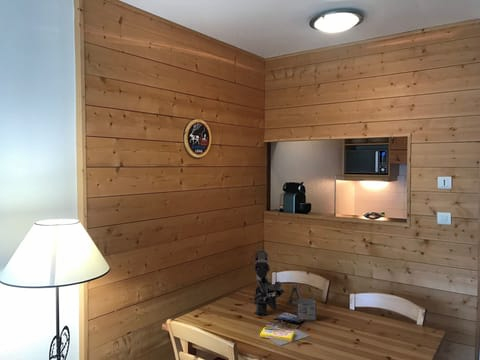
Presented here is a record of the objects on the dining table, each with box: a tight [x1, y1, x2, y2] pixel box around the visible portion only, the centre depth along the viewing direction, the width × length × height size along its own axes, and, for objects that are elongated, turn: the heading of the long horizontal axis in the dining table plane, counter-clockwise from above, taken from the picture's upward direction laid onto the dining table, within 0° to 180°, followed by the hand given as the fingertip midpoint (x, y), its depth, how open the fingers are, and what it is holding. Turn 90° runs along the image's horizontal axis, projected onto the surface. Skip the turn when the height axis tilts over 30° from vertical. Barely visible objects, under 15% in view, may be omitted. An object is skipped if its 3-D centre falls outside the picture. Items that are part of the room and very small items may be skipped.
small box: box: [296, 298, 317, 322], centre depth 217 cm, size 11×6×10 cm, turn 84°
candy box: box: [259, 326, 295, 341], centre depth 194 cm, size 16×2×8 cm
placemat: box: [267, 328, 310, 347], centre depth 193 cm, size 10×19×1 cm, turn 123°
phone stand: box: [287, 283, 303, 306], centre depth 241 cm, size 9×6×12 cm, turn 72°
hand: (275, 310), depth 203 cm, fingers closed
